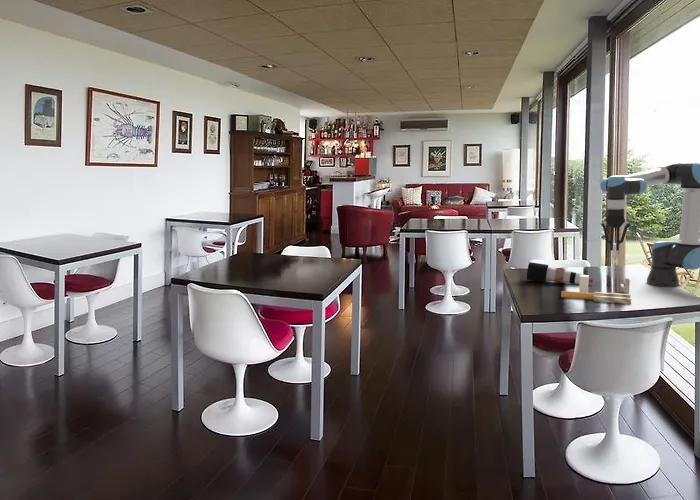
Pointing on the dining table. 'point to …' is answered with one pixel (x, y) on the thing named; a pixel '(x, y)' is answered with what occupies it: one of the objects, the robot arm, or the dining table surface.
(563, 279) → the black white tapered cylinder
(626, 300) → the clip rails
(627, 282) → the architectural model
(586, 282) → the white tall block
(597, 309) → the dining table surface
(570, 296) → the orange rod
